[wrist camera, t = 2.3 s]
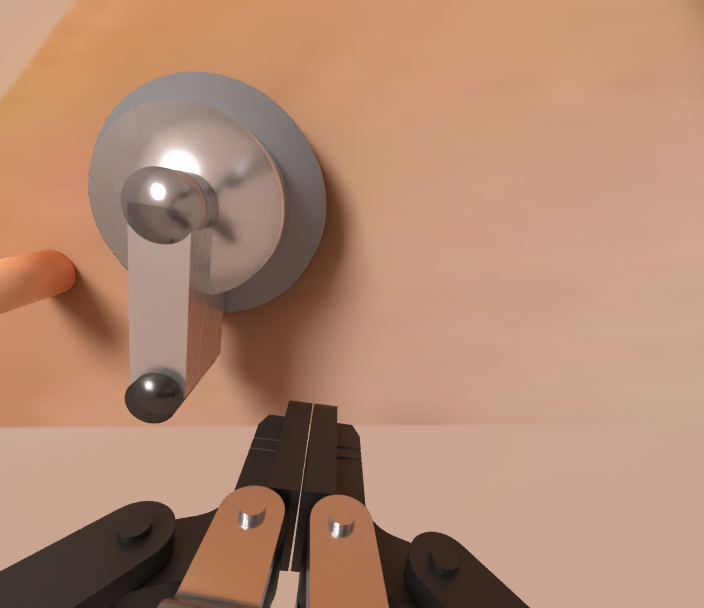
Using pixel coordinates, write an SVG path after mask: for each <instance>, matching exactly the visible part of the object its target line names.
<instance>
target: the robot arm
mask: <svg viewBox="0 0 704 608" xmlns="http://www.w3.org/2000/svg"><path fill="white" fill-rule="evenodd" d="M311 410H312V403H306V402H298V401H289V404H288V408H287V412H286V416H285V417H283V416H275V415H269V416H267V417H266V418H265V419H264V420H263V421H262V422H261V423H259V425H258V428H257V430H256V433H255V436H254V439H253V441H252V444H251V447H250V449H249V452H248V455H247V458H246V460H245V463H244V466H243V469H242V472H241V474H240V477H239V480H238V482H237V485H236V488H235V490H234V491H233V492H232V493H230V494H229V495H228V496H226V498H225V499H224V500H223V501H222V503H221V504H220V506H219V507H218V508H217V509H215V510H213V511H211V512H209V513H205V514H202V515H198V516H192V517H188V518H187V517H186V518H181V519H175V516H174V513H173V512H172V510H171V509H170V508H169V507H168V506H166V505H164V504H162V503H159V502H153V501H142V502H137V503H132V504H129V505H126V506H124V507H122V508H120V509H118V510H116V511H114V512H112V513H110V514H108V515H106V516H104V517H102V518H101V519H99V520H97V521H95V522H93V523H91V524H89V525H87V526H85V527H83V528H82V529H80V530H78V531H76V532H74V533H72V534H70V535H68V536H67V537H65V538H63V539H61V540H59V541H57V542H55V543H53V544H51V545H50V546H47V547H46V548H44V549H42V550H40V551H38V552H36V553H34V554H32V555H30V556H28V557H27V558H25V559H23V560H21V561H19V562H17V563H15V564H13V565H11V566H9V567H8V568H6V569H4V570H2V571H0V608H271V604H272V601H273V599H274V597H275V594H276V590H277V584H278V578H279V571H280V570H281V571H288V568H289V562H290V555H291V549H292V542H293V536H294V530H295V522H296V517H297V510H298V504H299V497H300V491H301V483H302V476H303V469H304V462H305V454H306V446H307V440H308V432H309V425H310V418H311ZM360 449H361V448H360V437H359V435H358V433H357V432H356V430H355V429H354V427H353V426H352V425H348V424H340V423H337V406H330V405H322V404H314V409H313V416H312V422H311V429H310V435H309V442H308V448H307V455H306V462H305V469H304V476H303V484H302V491H301V499H300V507H299V515H298V522H297V529H296V537H295V545H294V552H293V560H292V567H291V571H294V572H300V575H299V584H298V592H297V599H296V605H295V608H530V607H528V606H527V605H526V604H525V603H524V602H523V601H522V600H521V599H520V598H519V597H517V595H515V594H514V593H513V592H512V591H511V590H510V589H509V588H508V587H507V586H506V585H505V584H503V583H502V582H501V581H500V580H499V579H498V578H497V577H496V576H495V575H494V574H493V573H492V572H490V571H489V570H488V569H487V568H486V567H485V566H484V565H483V564H482V563H481V562H480V561H478V560H477V559H476V558H475V557H474V556H473V555H472V554H471V553H470V552H469V551H468V550H467V549H466V548H464V547H463V546H462V545H461V544H460V543H459V542H457V541H456V540H454V539H453V538H451V537H449V536H447V535H445V534H442V533H437V532H425V533H422V534H420V535H418V536H416V537H415V538H414V539H413V541H412V543H410V542H407V541H405V540H402V539H400V538H398V537H395V536H393V535H391V534H389V533H387V532H385V531H384V530H382V529H381V528H380V527H379V526H377V525H376V524H375V522H374V521H373V520H372V517H371V515H370V512H369V511H368V510H367V509H366V506H365V496H364V484H363V473H362V462H361V451H360Z"/></svg>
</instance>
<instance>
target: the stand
mask: <svg viewBox="0 0 704 608" xmlns="http://www.w3.org/2000/svg"><path fill="white" fill-rule="evenodd" d="M161 99H182V100H190V101H194V102H198V103H202V104H205V105H207V106H210V107H212V108H215V109H217V110H219V111H220V112H222V113H224V114H226V115H227V116H229V117H231V118H232V119H233V120H235V121H236V122H238V123H239V124H241V125H242V126H244V127H245V128H246V129H248V130H249V131H251V132H252V133H253V134H254V135H255V136H257V137H258V138H259V139H260V140H261V141H262V142H263V143H264V145H265V146H266V147H267V148H268V149H269V151H270V152H271V153H272V155H273V157H274V158H275V160H276V161H277V163H278V165H279V167H280V169H281V171H282V174H283V177H284V180H285V183H286V187H287V192H288V198H289V218H288V224H287V229H286V232H285V235H284V238H283V240H282V242H281V244H280V247H279V248H278V250H277V251H276V253H275V254H274V256H273V257H272V258H271V259H270V260H269V262H268V263H267V264H266V265H264V266H263V267H262V268H261V269H260V270H259V271H258V272H256V273H255V274H254V275H253V276H252V277H251V278H249V279H248V280H247V281H245V282H244V283H242V284H241V285H239V286H237V287H235V288H233V289H231V290H228V291H225V292H224V307H223V313H230V312H238V311H244V310H248V309H251V308H255V307H257V306H260V305H262V304H265V303H267V302H269V301H271V300H273V299H274V298H276V297H278V296H279V295H281V294H282V293H283V292H285V291H286V290H287V289H289V288H290V287H291V286H292V285H293V284H294V283H295V282H296V281H297V280H298V279H299V277H300V276H301V275H302V274H303V272H304V271H305V270H306V268H307V267H308V265H309V263H310V261H311V260H312V258H313V256H314V254H315V252H316V250H317V248H318V246H319V243H320V241H321V238H322V235H323V231H324V227H325V223H326V214H327V195H326V187H325V181H324V177H323V174H322V170H321V167H320V164H319V162H318V159H317V157H316V155H315V153H314V151H313V149H312V147H311V145H310V144H309V142H308V140H307V139H306V137H305V136H304V134H303V133H302V132H301V130H300V129H299V128H298V126H297V125H296V123H295V122H294V121H293V120H292V119H291V117H290V116H289V115H288V114H287V113H286V112H285V111H284V110H283V109H282V108H281V107H280V106H279V105H278V104H276V103H275V102H274V101H273V100H272V99H270V98H269V97H268V96H266V95H265V94H263V93H262V92H260V91H258V90H257V89H255V88H254V87H252V86H250V85H247V84H245V83H243V82H241V81H239V80H236V79H233V78H230V77H227V76H223V75H219V74H213V73H207V72H183V73H175V74H170V75H166V76H163V77H160V78H156V79H154V80H152V81H150V82H148V83H146V84H144V85H141V86H140V87H139V88H137V89H136V90H134V91H133V92H131V93H130V94H128V95H127V96H126V97H125V98H124V99H123V100H122V101H121V102H120V103H119V104H118V105H117V106H116V107H115V109H114V110H113V111H112V113H111V114H110V115H109V117H108V118H107V120H106V122H105V123H104V125H103V127H102V129H101V131H100V133H99V136H98V139H97V141H96V144H95V147H94V151H95V149H96V147H97V144H98V142H99V140H100V139H101V137H102V136H103V134H104V133H105V131H106V130H107V129H108V127H109V126H110V125H111V124H112V123H113V122H114V121H115V120H116V119H117V118H119V117H120V116H121V115H123V114H124V113H125V112H127V111H129V110H131V109H132V108H134V107H136V106H138V105H141V104H144V103H147V102H150V101H156V100H161ZM93 154H94V152H93ZM121 264H122V263H121ZM122 265H123V264H122ZM123 266H124V265H123ZM124 267H125V268H126V269H127V270H128V268H127V267H126V266H124ZM75 281H76V271H75V268H74V266H73V264H72V263H71V261H70V260H69V259H68V258H67V257H66V256H64V255H63V254H61V253H59V252H56V251H52V250H46V251H40V252H34V253H29V254H24V255H18V256H13V257H7V258H2V259H0V314H2V313H5V312H8V311H11V310H14V309H17V308H19V307H22V306H25V305H28V304H31V303H34V302H37V301H40V300H43V299H46V298H48V297H51V296H54V295H57V294H60V293H63V292H66V291H68V290H70V289H71V288H72V287H73V285H74V284H75Z"/></svg>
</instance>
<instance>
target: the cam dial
mask: <svg viewBox="0 0 704 608" xmlns="http://www.w3.org/2000/svg"><path fill="white" fill-rule="evenodd" d="M88 190H89V200H90V205H91V209H92V214H93V217H94V219H95V222H96V225H97V227H98V229H99V231H100V233H101V235H102V237H103V239H104V241H105V242H106V244H107V245H108V247H109V248H110V250H111V251H112V252H113V254H114V255H115V256H116V257H117V258H118V260H119V261H120V262H121V263H122V264H123V265H124V266H126V267H127V268H128V293H129V363H130V386H129V387H128V389H127V390H126V393H125V403H126V406H127V408H128V410H129V411H130V413H131V414H132V415H133V416H135V417H136V418H137V419H139V420H141V421H144V422H147V423H161V422H164V421H166V420H168V419H169V418H171V417H172V416H173V414H174V413H175V412H176V410H177V409H178V408H179V407H180V405H181V404H182V403H183V401H184V400H185V399H186V398H187V396H188V395H189V394H190V393H191V391H192V390H193V389H194V387H195V386H196V385H197V384H198V382H199V381H200V380H201V378H202V377H203V376H204V375H205V373H206V372H207V371H208V369H209V368H210V367H211V366H212V364H213V363H214V362H215V360H216V359H217V357H218V355H219V354H220V353H221V338H222V323H223V307H224V292H225V291H228V290H231V289H233V288H235V287H237V286H239V285H241V284H242V283H244V282H245V281H247V280H248V279H249V278H251V277H252V276H253V275H254V274H255V273H256V272H258V271H259V270H260V269H261V268H262V267H263V266H264V265H266V264H267V263H268V262H269V260H270V259H271V258H272V257H273V256H274V254H275V253H276V251H277V250H278V248H279V247H280V244H281V242H282V240H283V238H284V235H285V232H286V229H287V224H288V218H289V198H288V192H287V187H286V183H285V180H284V177H283V174H282V171H281V169H280V167H279V165H278V163H277V161H276V160H275V158H274V157H273V155H272V153H271V152H270V151H269V149H268V148H267V147H266V146H265V145H264V143H263V142H262V141H261V140H260V139H259V138H258V137H257V136H255V135H254V134H253V133H252V132H251V131H249V130H248V129H246V128H245V127H244V126H242V125H241V124H239V123H238V122H236V121H235V120H233V119H232V118H231V117H229V116H227V115H226V114H224V113H222V112H220V111H219V110H217V109H215V108H212V107H210V106H207V105H205V104H202V103H198V102H194V101H190V100H182V99H161V100H156V101H150V102H147V103H144V104H141V105H138V106H136V107H134V108H132V109H131V110H129V111H127V112H125V113H124V114H123V115H121V116H120V117H119V118H117V119H116V120H115V121H114V122H113V123H112V124H111V125H110V126H109V127H108V129H107V130H106V131H105V133H104V134H103V136H102V137H101V139H100V140H99V142H98V144H97V147H96V149H95V151H94V154H93V157H92V160H91V164H90V170H89V182H88Z"/></svg>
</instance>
